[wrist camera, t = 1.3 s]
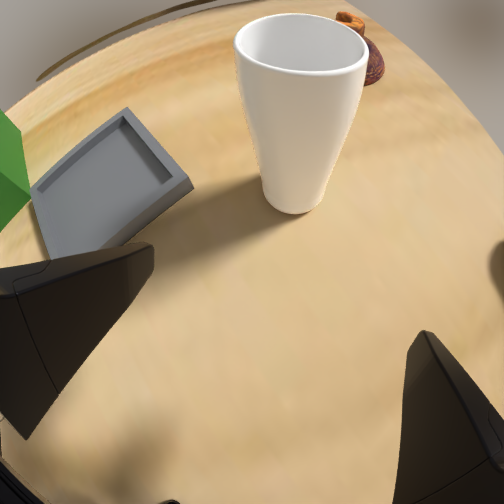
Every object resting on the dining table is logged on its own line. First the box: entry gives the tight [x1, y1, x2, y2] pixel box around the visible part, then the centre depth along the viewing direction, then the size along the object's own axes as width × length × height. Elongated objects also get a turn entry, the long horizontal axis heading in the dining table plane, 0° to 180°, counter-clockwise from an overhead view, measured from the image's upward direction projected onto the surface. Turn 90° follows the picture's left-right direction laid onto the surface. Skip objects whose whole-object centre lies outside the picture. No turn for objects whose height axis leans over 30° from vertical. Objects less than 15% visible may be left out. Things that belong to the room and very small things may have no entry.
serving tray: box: [29, 107, 194, 260], centre depth 26 cm, size 15×14×2 cm
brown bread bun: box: [334, 12, 385, 85], centre depth 28 cm, size 12×12×7 cm
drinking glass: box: [233, 13, 369, 214], centre depth 18 cm, size 7×7×15 cm
